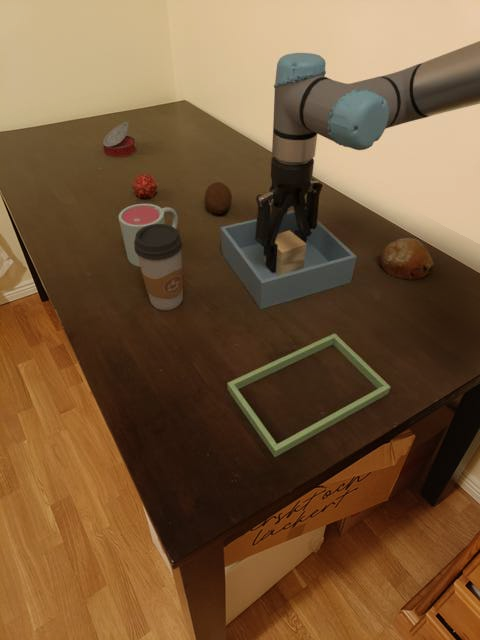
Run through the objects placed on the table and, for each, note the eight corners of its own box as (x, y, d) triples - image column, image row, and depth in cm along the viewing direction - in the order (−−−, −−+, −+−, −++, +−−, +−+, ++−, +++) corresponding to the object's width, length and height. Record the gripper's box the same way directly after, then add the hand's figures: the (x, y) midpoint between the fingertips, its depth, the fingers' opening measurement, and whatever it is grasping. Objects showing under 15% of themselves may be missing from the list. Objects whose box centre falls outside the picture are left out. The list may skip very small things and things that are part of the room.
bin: (351, 282, 88) (357, 256, 83) (260, 309, 82) (261, 283, 78) (301, 232, 102) (304, 207, 97) (221, 252, 96) (220, 227, 91)
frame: (333, 340, 76) (334, 333, 75) (388, 393, 68) (391, 386, 66) (227, 389, 68) (227, 382, 67) (274, 457, 60) (275, 451, 59)
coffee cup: (160, 321, 80) (148, 254, 69) (137, 298, 84) (123, 233, 74) (196, 302, 83) (190, 236, 73) (173, 281, 88) (164, 217, 78)
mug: (144, 272, 90) (136, 231, 83) (119, 254, 95) (109, 214, 88) (193, 246, 97) (189, 206, 91) (167, 230, 102) (162, 192, 95)
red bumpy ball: (158, 199, 118) (154, 202, 110) (134, 196, 117) (128, 198, 110) (160, 175, 116) (156, 176, 108) (135, 171, 115) (129, 172, 108)
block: (287, 253, 94) (289, 230, 90) (303, 267, 90) (306, 243, 86) (264, 261, 92) (265, 238, 88) (280, 276, 88) (282, 252, 84)
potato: (225, 197, 114) (225, 171, 109) (237, 216, 107) (237, 190, 102) (200, 201, 113) (198, 175, 108) (210, 220, 105) (209, 194, 101)
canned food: (132, 169, 137) (123, 148, 127) (102, 163, 138) (92, 141, 128) (143, 141, 140) (136, 118, 130) (114, 135, 141) (105, 112, 131)
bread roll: (401, 264, 98) (396, 231, 95) (444, 267, 90) (440, 231, 87) (374, 281, 94) (368, 247, 91) (416, 287, 86) (412, 249, 82)
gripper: (322, 139, 81) (309, 242, 97) (235, 160, 74) (236, 268, 90) (348, 153, 76) (330, 259, 92) (258, 177, 69) (255, 287, 85)
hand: (284, 263), depth 91 cm, fingers closed on block, 6 cm apart
